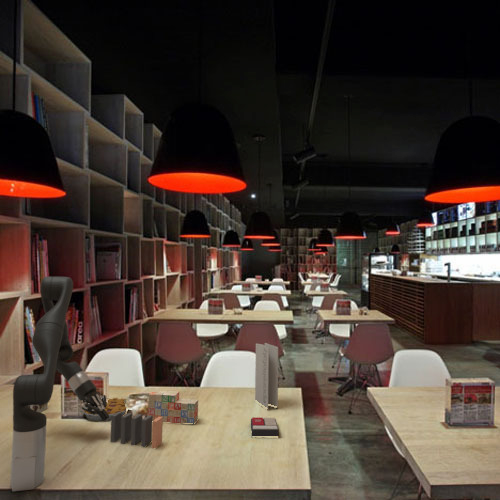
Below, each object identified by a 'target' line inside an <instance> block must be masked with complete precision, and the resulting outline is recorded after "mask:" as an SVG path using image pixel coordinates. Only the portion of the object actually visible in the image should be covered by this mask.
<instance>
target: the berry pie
mask: <svg viewBox="0 0 500 500" xmlns="http://www.w3.org/2000/svg"><path fill="white" fill-rule="evenodd" d="M108 399H109V400H108V404H107V407H106V408H105V411H106V412H107V413H108V415H109V418H108V419H107V420H106V421H105V422H107V421H111V416H112V415H114V414H115V413H117V412H122V416H123V415H124V414H125V412H126V407H125V403H124V400H126V399H125V398H118V397H113V398H108ZM82 413H84V415H85V418H86V419H88V420H90V421H94V422H95V421H96V422H104V421H103V420H102V419H101V417H100V416H99V415H97V414H95V415H93V414H91V413H89V412H87V411H85V410H83V409H82Z"/></svg>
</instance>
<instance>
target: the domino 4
mask: <svg viewBox="0 0 500 500" xmlns="http://www.w3.org/2000/svg"><path fill="white" fill-rule="evenodd" d="M151 441H152V416H150V415H147V416H145V417H144V418H142V437H141V441H140V442H141V444H140V445H141V446H143V447H142V448H146V447H147V446H148V445H150V444H151V443H152V442H151ZM150 442H151V443H150ZM149 443H150V444H149ZM146 445H147V446H146ZM145 446H146V447H145Z"/></svg>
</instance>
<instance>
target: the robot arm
mask: <svg viewBox="0 0 500 500" xmlns="http://www.w3.org/2000/svg"><path fill="white" fill-rule="evenodd" d="M72 279H73V278H71V277H68V276H45V277H43V279H41V281H40V289H39V290H40V297H41V301H42V302H41V303H42V306H43V310H44V315H42V316H41V318H40V319H38V321H37V322H36V324H35V327H34V331H33V334H32V335H33V336H32V340H31V341H32V346H33V348H34V350H35V352H36V353H37V355H38V357H39V358H40V360H41V363H42V364H43V373H41V374H40V373H39V374H20V375H18V377H16V379H15V381H14V384H13V389H12V408H13V409H12V412H13V413H12V423H13V424H12V440H11V441H12V445H11V446H12V447H11V463H10V464H11V466H10V489H11V491H12V492H18V491H21V492H22V491H28V490H31V491H32V490H35V488H37V487H39V486H40V485H42V484H43V483H44V481H45V468H46V467H45V466H46V465H45V462H46V441H47V439H46V438H47V423H48V422H47V416H46V414H44V413H42V412H37V411H34V410H32V409H31V408H29V406H28V405H41V404H46V403H49V402H50V401H51V399H52V396H53V392H54V386H55V379H56V378H55V377H56V376H55V375H56V371H57V372H58V373H60V374H61V375H62V377H63V378H64V379H65V381H66V382H67V383H68V386H69V387H70V389H71V390H72V391H73V393H74V394H75V396H77V398H78V400H79V401H82V403H83V405H82V407H81V409H82V411H83V410H85V411H87V412H89V413H91V414H93V415H95V414H97V415H99V416H100V417H101V419H102V420H103V421H102V422H107V421H108V420H107V419H108V418H109V415H108V413H107V412H106V411H105V408H106V407H107V402H106V399H107V395H105V394H103V395H101V394H100V393H99V392H98V391H97V386H96V384H94V382H93V381H92V379H91V378H90V376H89V375H88V374H87V373H86V372H85V371H84V370H83V368H82V367H81V366H80V364H79V363H78V362H77V361H71V362H67V361H69V360H71V359H72V358H73V355H74V349H73V346H72V345H71V342H70V340H69V334H68V333H69V332H68V324H67V321H66V318H67V313H68V310H69V309H68V308H69V305H70V301H71V298H72V294H73V290H74V281H73V280H72ZM53 301H56V304H55V305H54V302H53ZM106 420H107V421H106Z"/></svg>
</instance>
